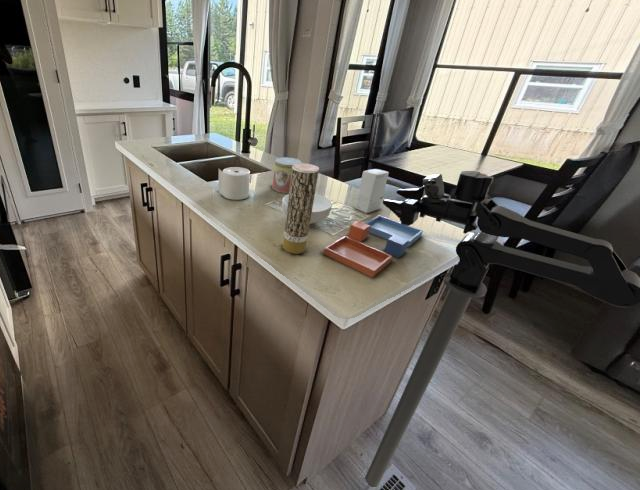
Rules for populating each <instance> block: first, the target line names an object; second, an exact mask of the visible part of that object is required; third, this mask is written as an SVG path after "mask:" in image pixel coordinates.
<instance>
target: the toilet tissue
mask: <svg viewBox="0 0 640 490" xmlns="http://www.w3.org/2000/svg"><path fill="white" fill-rule="evenodd" d="M217 178H218V179H217V180H218V181H217V182H218V183H217V184H218V189H217V190H218V192H219V194H220V195H222V196H223V198H226V199H228V200H234V201H237V200H238V201H239V200H245V199H247V198H249V196H250V194H249V193H250V179H251V170H249V169H248V168H246V167H241V166H232V167H231V166H230V167H225V168H224V169H223V170H221V169H220V168H218V177H217Z"/></svg>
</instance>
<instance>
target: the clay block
mask: <svg viewBox="0 0 640 490" xmlns="http://www.w3.org/2000/svg"><path fill="white" fill-rule="evenodd" d="M365 223H366V222H365ZM365 223H364V222H362V221H360V220H357V221H354V222H353V223H351V224H350V226H349V232H348V235H347V237H349V238H351V239H353V240H356V241H358V242H361V243H362V242H363V241H364V240H366V239H367V238H368V236H369V229H370V225H367V224H365Z"/></svg>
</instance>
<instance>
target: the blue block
mask: <svg viewBox="0 0 640 490" xmlns="http://www.w3.org/2000/svg"><path fill="white" fill-rule="evenodd" d="M408 241H409V240H407V239H404V238H402V237H399V236H397V235H393V236H392V237H390V238H389V239H388V240H387V241H386V244H385V247H384V250H383V252H384V253H387V254H389V255H392V257H396V258H398V259H399V258H400V257H401V256H403V255H404V254H405V253H406V250H407V248H408V247H407V244H408Z"/></svg>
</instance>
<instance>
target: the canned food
mask: <svg viewBox="0 0 640 490" xmlns="http://www.w3.org/2000/svg"><path fill="white" fill-rule="evenodd" d="M297 163H303V161H302V160H301V159H299V158H296V157H289V156H288V157H287V156H281V157H276V158H275V159H274V166H273V176H272V185H271V188H272V189H273V190H274V191H276V192H279V193H283V194H289V191H290V183H291V175H292V167H293V165H294V164H297Z"/></svg>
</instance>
